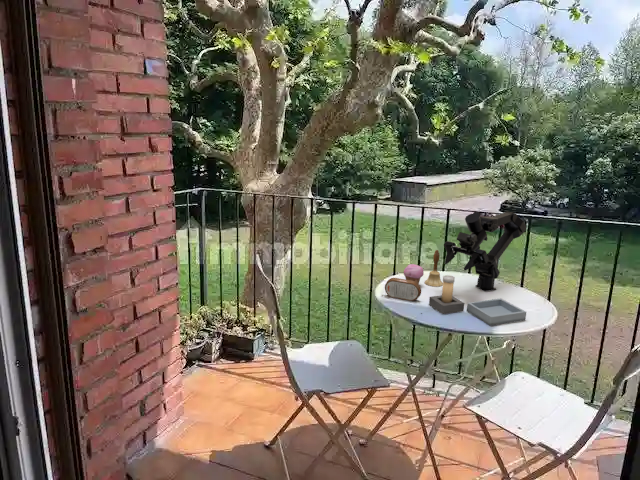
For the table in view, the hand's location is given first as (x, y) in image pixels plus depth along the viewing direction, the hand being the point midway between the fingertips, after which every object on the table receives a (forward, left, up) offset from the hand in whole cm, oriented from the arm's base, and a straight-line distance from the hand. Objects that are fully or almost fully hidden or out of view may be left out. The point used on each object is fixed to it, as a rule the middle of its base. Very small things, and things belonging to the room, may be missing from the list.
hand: (454, 266), depth 188 cm
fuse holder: (+6, +5, -15) cm, 17 cm away
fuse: (+6, +5, -15) cm, 17 cm away
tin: (+18, -9, -15) cm, 25 cm away
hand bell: (-5, -21, -15) cm, 26 cm away
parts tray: (-8, +17, -15) cm, 24 cm away
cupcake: (+6, -21, -15) cm, 27 cm away
